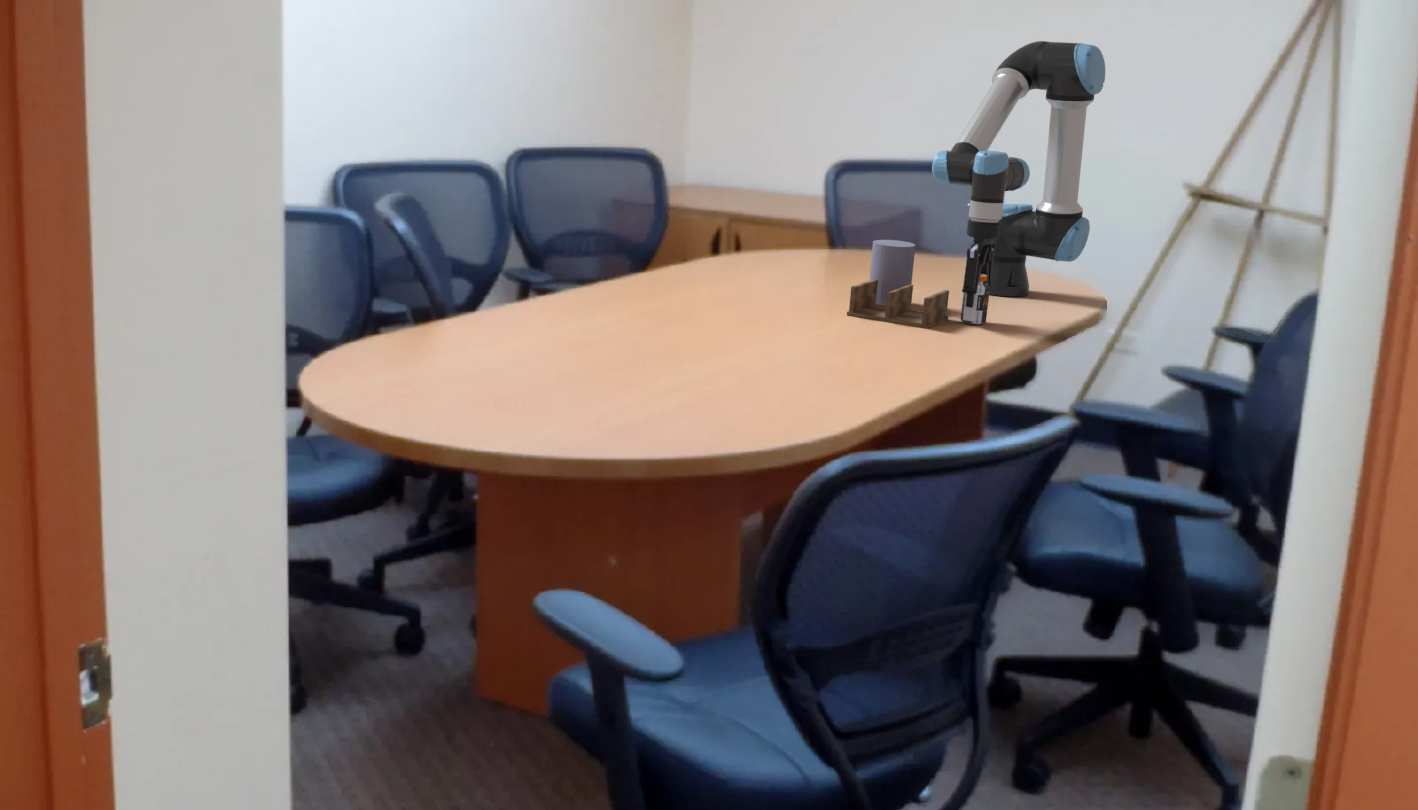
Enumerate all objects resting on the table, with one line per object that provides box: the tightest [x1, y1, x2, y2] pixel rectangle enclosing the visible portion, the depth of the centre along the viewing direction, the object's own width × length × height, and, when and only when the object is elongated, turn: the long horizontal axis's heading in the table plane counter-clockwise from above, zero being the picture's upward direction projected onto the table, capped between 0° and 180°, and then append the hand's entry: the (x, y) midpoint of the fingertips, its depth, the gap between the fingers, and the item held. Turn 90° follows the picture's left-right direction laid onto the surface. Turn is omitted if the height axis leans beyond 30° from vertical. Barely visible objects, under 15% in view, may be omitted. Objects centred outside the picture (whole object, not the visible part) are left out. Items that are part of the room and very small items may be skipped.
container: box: [868, 239, 916, 306], centre depth 332 cm, size 10×10×15 cm
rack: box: [846, 279, 950, 329], centre depth 317 cm, size 14×20×7 cm
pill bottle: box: [960, 274, 990, 325], centre depth 315 cm, size 6×6×11 cm
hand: (973, 318), depth 317 cm, fingers closed on pill bottle, 6 cm apart
